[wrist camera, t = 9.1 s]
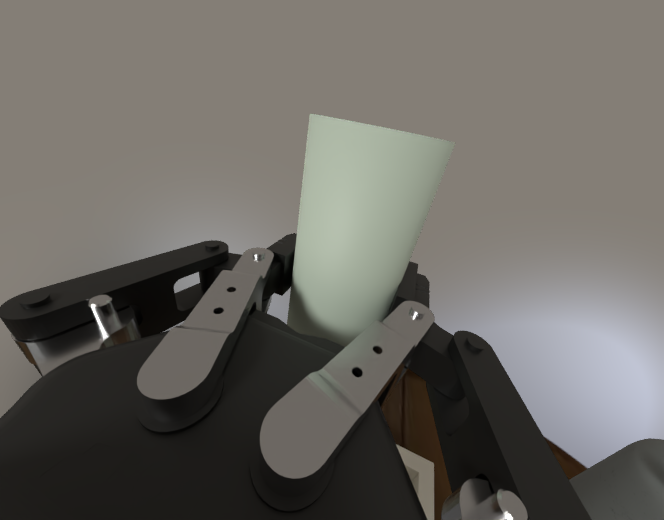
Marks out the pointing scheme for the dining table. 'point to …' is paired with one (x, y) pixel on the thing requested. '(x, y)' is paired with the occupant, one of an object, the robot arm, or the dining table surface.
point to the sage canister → (358, 222)
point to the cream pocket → (420, 479)
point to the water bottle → (625, 484)
